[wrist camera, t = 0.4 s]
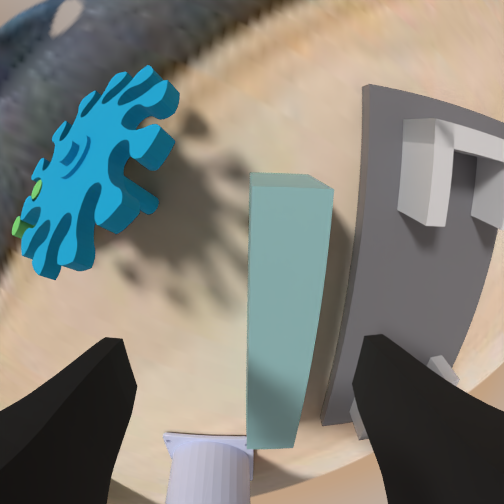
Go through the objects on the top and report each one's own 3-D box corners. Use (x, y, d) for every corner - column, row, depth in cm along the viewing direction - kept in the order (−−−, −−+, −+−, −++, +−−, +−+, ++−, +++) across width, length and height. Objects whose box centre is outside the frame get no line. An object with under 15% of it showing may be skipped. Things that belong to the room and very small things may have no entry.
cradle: (428, 397, 22) (445, 426, 18) (319, 417, 22) (328, 454, 18) (498, 124, 14) (539, 128, 10) (362, 86, 13) (396, 74, 10)
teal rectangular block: (285, 395, 21) (293, 447, 16) (246, 396, 21) (246, 449, 16) (307, 174, 15) (334, 189, 11) (249, 171, 15) (251, 186, 11)
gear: (156, 29, 11) (168, 179, 7) (215, 101, 16) (263, 253, 12) (21, 152, 14) (-6, 309, 10) (85, 189, 19) (86, 328, 15)
